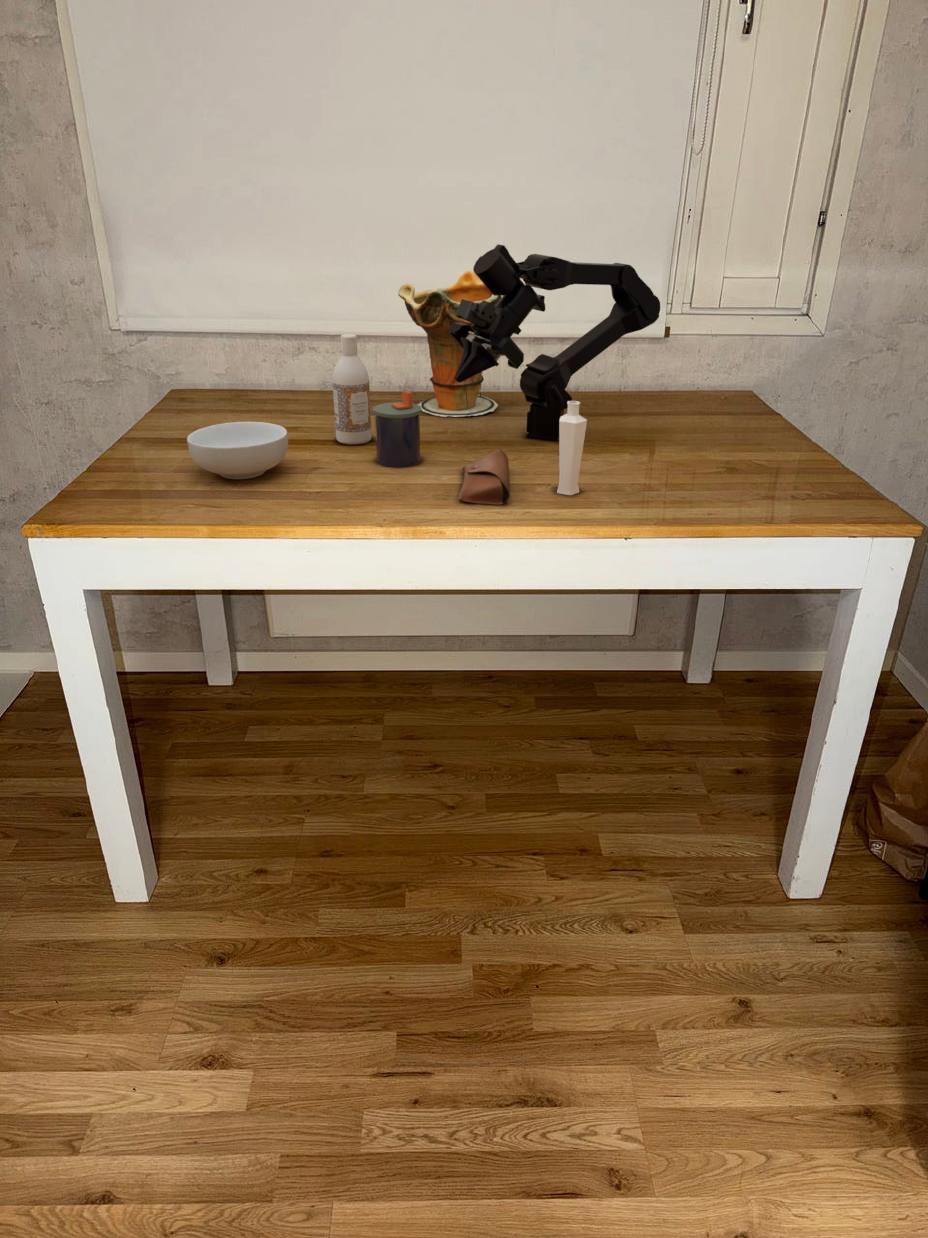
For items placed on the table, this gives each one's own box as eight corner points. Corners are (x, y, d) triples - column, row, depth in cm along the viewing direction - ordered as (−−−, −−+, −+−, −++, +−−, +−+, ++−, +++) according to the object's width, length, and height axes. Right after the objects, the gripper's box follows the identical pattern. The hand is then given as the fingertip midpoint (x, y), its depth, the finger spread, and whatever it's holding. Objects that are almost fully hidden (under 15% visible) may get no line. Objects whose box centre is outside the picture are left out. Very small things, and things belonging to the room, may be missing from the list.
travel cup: (408, 450, 164) (407, 399, 160) (430, 463, 158) (429, 410, 153) (367, 457, 160) (365, 405, 156) (387, 470, 154) (386, 416, 149)
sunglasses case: (460, 465, 155) (479, 434, 152) (493, 485, 156) (513, 454, 154) (457, 501, 139) (479, 467, 136) (494, 522, 141) (516, 489, 138)
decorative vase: (385, 409, 191) (380, 273, 178) (454, 390, 206) (455, 265, 193) (455, 426, 179) (456, 283, 166) (523, 406, 194) (529, 273, 181)
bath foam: (346, 447, 166) (339, 339, 156) (330, 438, 171) (323, 333, 161) (377, 441, 169) (373, 336, 160) (361, 433, 174) (356, 330, 165)
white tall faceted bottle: (580, 496, 143) (587, 406, 136) (554, 495, 143) (559, 405, 136) (582, 487, 147) (589, 399, 140) (556, 485, 147) (561, 398, 140)
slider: (406, 403, 157) (405, 389, 155) (413, 407, 154) (412, 392, 153) (391, 406, 155) (390, 391, 154) (398, 409, 153) (397, 394, 152)
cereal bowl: (291, 455, 161) (287, 418, 157) (290, 485, 146) (287, 444, 143) (197, 460, 158) (191, 421, 155) (187, 490, 144) (181, 449, 140)
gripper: (457, 276, 160) (405, 342, 160) (512, 288, 146) (455, 361, 146) (491, 317, 167) (442, 381, 167) (547, 332, 153) (493, 402, 153)
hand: (456, 380), depth 158 cm, fingers closed
